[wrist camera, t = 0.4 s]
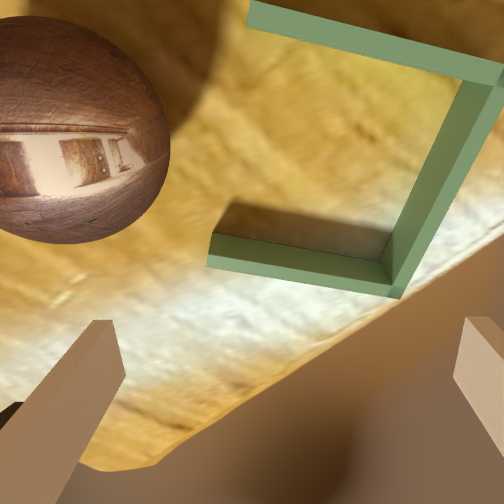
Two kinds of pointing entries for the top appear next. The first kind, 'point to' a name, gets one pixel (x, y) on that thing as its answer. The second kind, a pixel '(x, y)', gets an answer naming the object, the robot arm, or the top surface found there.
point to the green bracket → (428, 182)
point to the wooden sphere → (75, 134)
